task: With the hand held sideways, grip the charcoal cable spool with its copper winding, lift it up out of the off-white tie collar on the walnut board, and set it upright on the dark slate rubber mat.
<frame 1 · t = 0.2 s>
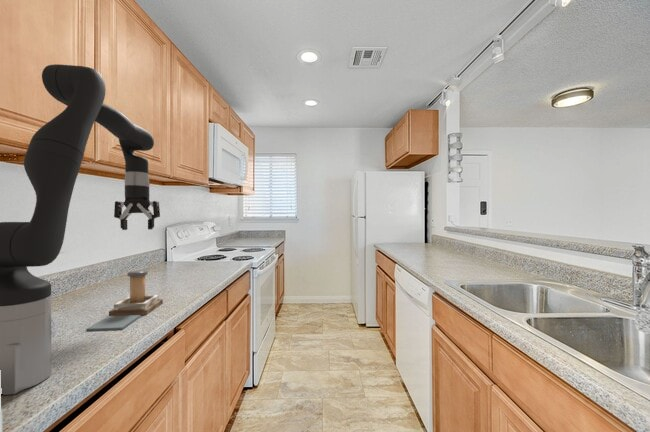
hand: (137, 229, 102), 29 cm above the countertop, tool pointing down, fingers open, 8 cm apart
cable spool: (137, 305, 101), point 2 cm above the countertop, touching tie board
slate mat: (115, 323, 88), on the countertop
tie board: (137, 309, 101), on the countertop
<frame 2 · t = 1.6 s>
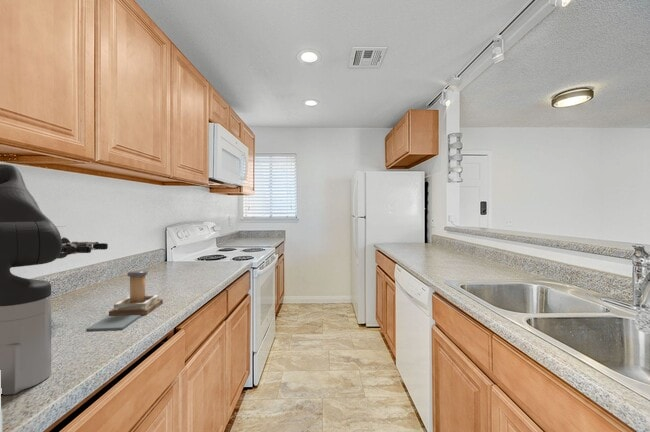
hand: (99, 247, 99), 22 cm above the countertop, tool horizontal, fingers open, 8 cm apart
nothing on the countertop moved.
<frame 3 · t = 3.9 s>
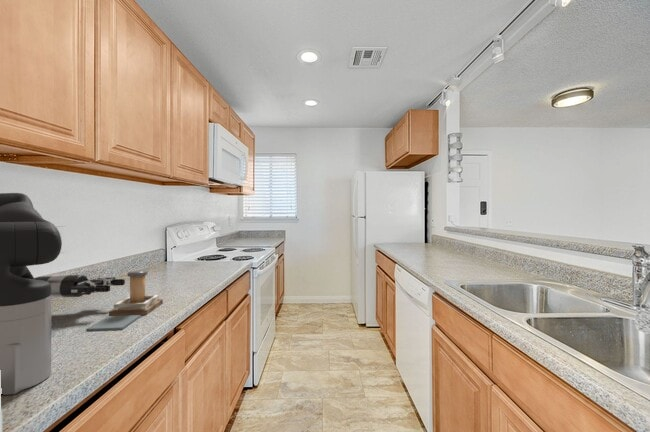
hand: (117, 285, 100), 9 cm above the countertop, tool horizontal, fingers open, 8 cm apart
nothing on the countertop moved.
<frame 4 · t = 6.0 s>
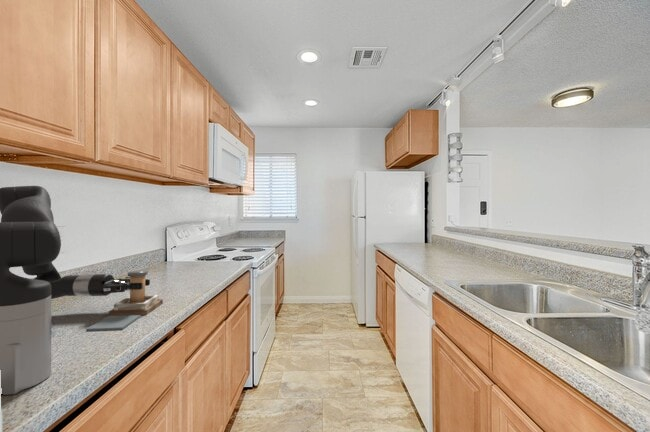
hand: (145, 284, 101), 9 cm above the countertop, tool horizontal, fingers closed on cable spool, 4 cm apart
cable spool: (137, 304, 101), point 2 cm above the countertop, touching gripper, tie board
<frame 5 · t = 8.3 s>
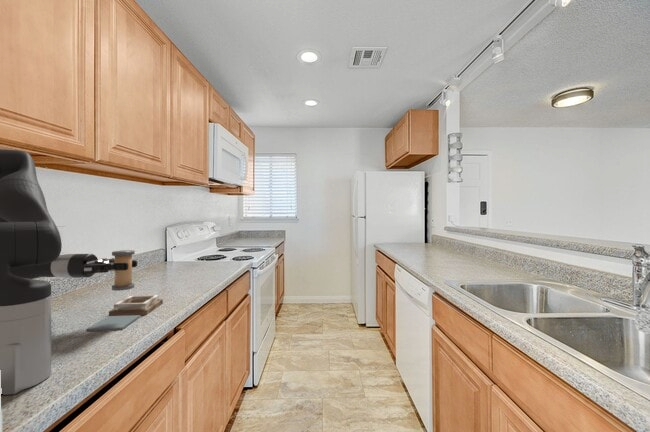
hand: (132, 265, 92), 18 cm above the countertop, tool horizontal, fingers closed on cable spool, 4 cm apart
cable spool: (123, 288, 91), point 10 cm above the countertop, touching gripper
when the fingers open (9 cm above the countertop, at t = 10.7 s): cable spool drops 1 cm, resting on slate mat.
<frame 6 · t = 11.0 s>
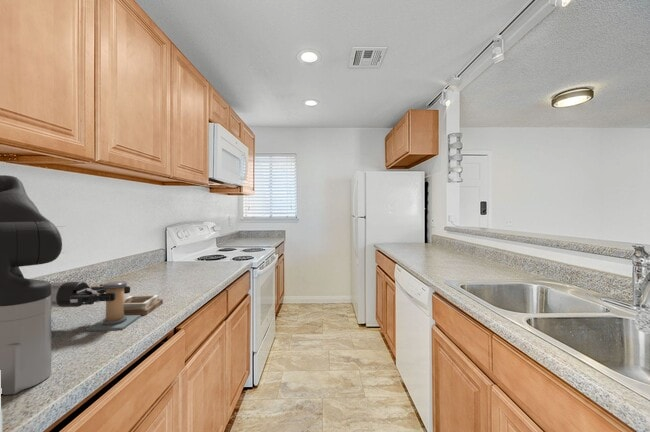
hand: (122, 293, 88), 10 cm above the countertop, tool horizontal, fingers open, 7 cm apart
cable spool: (114, 321, 88), point 1 cm above the countertop, touching slate mat
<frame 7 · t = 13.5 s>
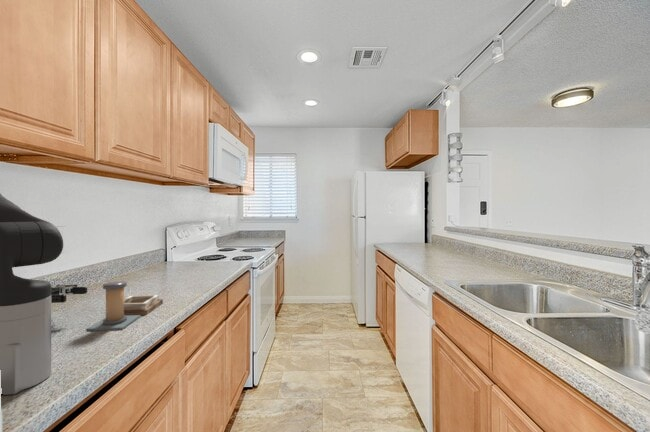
hand: (76, 294, 86), 10 cm above the countertop, tool horizontal, fingers open, 8 cm apart
nothing on the countertop moved.
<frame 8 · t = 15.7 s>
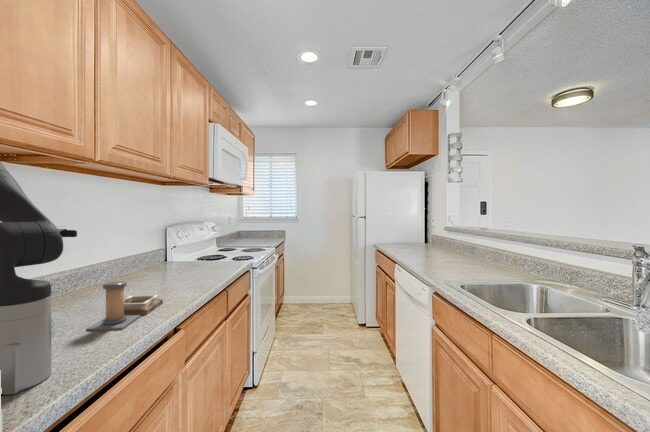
hand: (65, 234, 86), 28 cm above the countertop, tool horizontal, fingers open, 8 cm apart
nothing on the countertop moved.
at the end: cable spool inside the target area (0.1 cm from its centre), point 0.6 cm above the countertop; cable spool tilted 0°; the gripper is holding nothing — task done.
